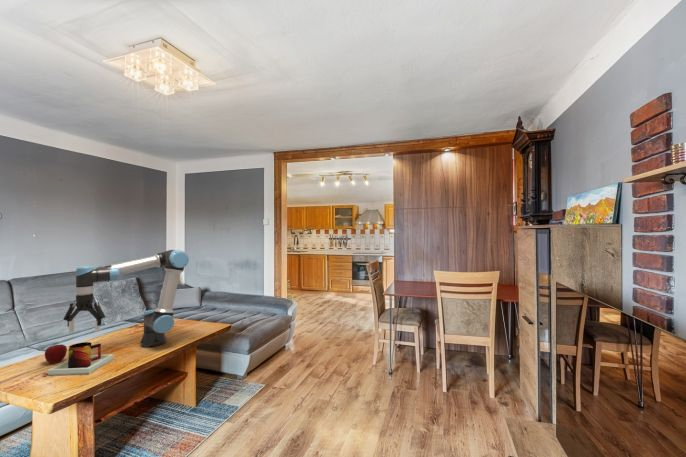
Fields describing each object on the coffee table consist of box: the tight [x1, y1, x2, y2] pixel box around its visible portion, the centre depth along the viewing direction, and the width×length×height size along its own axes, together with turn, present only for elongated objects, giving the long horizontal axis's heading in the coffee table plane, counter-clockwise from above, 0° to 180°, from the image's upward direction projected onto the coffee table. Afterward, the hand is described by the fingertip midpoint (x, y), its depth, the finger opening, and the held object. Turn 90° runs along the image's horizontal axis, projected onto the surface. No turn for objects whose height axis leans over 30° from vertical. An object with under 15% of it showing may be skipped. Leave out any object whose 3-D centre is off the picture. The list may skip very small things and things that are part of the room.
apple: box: [44, 344, 68, 364], centre depth 178 cm, size 10×10×10 cm
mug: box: [67, 341, 102, 368], centre depth 172 cm, size 10×14×12 cm
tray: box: [47, 354, 115, 377], centre depth 171 cm, size 20×20×3 cm
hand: (84, 332), depth 172 cm, fingers open, 13 cm apart
